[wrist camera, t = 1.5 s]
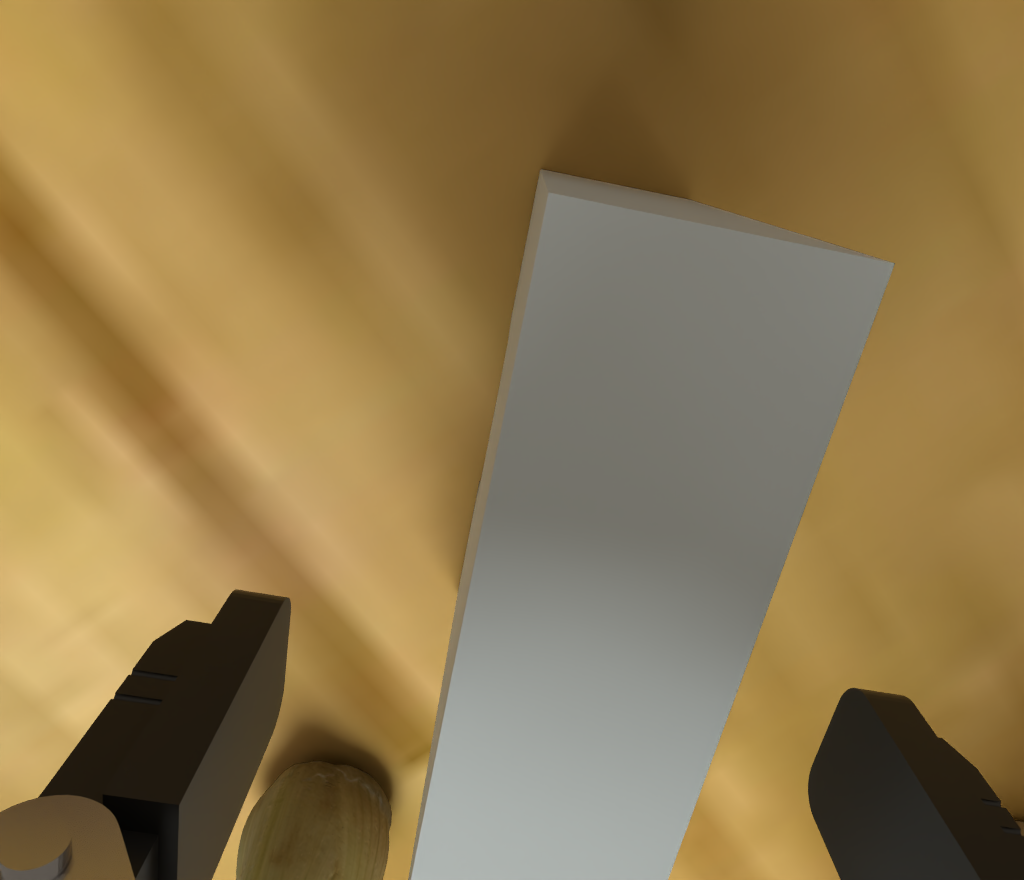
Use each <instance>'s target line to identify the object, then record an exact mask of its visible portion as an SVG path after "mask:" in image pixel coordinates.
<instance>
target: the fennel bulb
mask: <svg viewBox="0 0 1024 880" xmlns="http://www.w3.org/2000/svg"><path fill="white" fill-rule="evenodd" d="M391 817H392V813H391V807H390V804H389V801H388V799H387V797H386V795H385V793H384V791H383V789H382V788H381V786H380V785H379V784H378V783H377V782H376V781H375V780H374V779H373V777H371V776H370V775H369V774H368V773H365V772H363V771H361V770H359V769H357V768H355V767H352V766H350V765H333V764H330V763H328V762H323V761H312V762H307V763H301V764H295V765H293V766H291V767H290V768H288V769H286V770H285V771H284V772H283V773H282V774H281V775H280V776H279V777H278V779H277V780H276V781H275V782H274V783H273V785H271V786H270V788H269V789H268V790H267V791H266V792H265V793H264V794H263V796H262V797H261V798H260V799H259V800H258V802H257V803H256V805H255V806H254V807H253V809H252V811H251V813H250V815H249V817H248V819H247V821H246V824H245V826H244V829H243V832H242V835H241V840H240V844H239V850H238V857H237V869H236V877H237V878H236V880H383V876H384V872H385V868H386V864H387V859H388V851H389V829H390V826H391Z"/></svg>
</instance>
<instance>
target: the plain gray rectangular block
mask: <svg viewBox="0 0 1024 880" xmlns="http://www.w3.org/2000/svg"><path fill="white" fill-rule="evenodd" d="M894 264H895V263H892V262H889V261H886V260H882V259H879V258H876V257H873V256H870V255H866V254H863V253H860V252H857V251H853V250H850V249H847V248H844V247H841V246H837V245H834V244H831V243H828V242H825V241H821V240H818V239H815V238H812V237H808V236H805V235H802V234H799V233H796V232H792V231H789V230H786V229H783V228H780V227H776V226H773V225H770V224H767V223H763V222H760V221H757V220H754V219H751V218H747V217H744V216H741V215H738V214H735V213H731V212H728V211H725V210H722V209H719V208H715V207H712V206H709V205H706V204H702V203H699V202H696V201H693V200H689V199H684V198H679V197H674V196H670V195H665V194H660V193H655V192H650V191H645V190H641V189H636V188H631V187H626V186H621V185H616V184H611V183H607V182H602V181H597V180H592V179H587V178H582V177H577V176H573V175H568V174H563V173H558V172H553V171H548V170H543V169H540V173H539V178H538V183H537V188H536V194H535V199H534V204H533V209H532V214H531V219H530V224H529V230H528V235H527V240H526V245H525V250H524V255H523V260H522V266H521V271H520V276H519V281H518V286H517V291H516V296H515V301H514V307H513V312H512V317H511V323H510V331H509V338H508V344H507V349H506V355H505V360H504V365H503V370H502V375H501V380H500V385H499V390H498V395H497V401H496V406H495V411H494V416H493V421H492V426H491V431H490V436H489V442H488V447H487V452H486V457H485V462H484V467H483V472H482V477H481V481H479V486H478V492H477V497H476V502H475V507H474V512H473V517H472V522H471V528H470V533H469V538H468V543H467V548H466V553H465V558H464V564H463V569H462V574H461V579H460V584H459V589H458V594H457V600H456V606H455V612H454V618H453V623H452V629H451V635H450V641H449V647H448V652H447V658H446V664H445V670H444V676H443V681H442V687H441V693H440V699H439V705H438V710H437V716H436V722H435V728H434V733H433V739H432V745H431V751H430V757H429V762H428V768H427V774H426V780H425V786H424V791H423V797H422V803H421V809H420V815H419V820H418V826H417V832H416V838H415V844H414V849H413V855H412V861H411V867H410V872H409V878H408V880H668V878H669V875H670V873H671V870H672V867H673V864H674V862H675V859H676V856H677V854H678V851H679V848H680V845H681V843H682V840H683V837H684V835H685V832H686V829H687V826H688V824H689V821H690V818H691V816H692V813H693V810H694V807H695V805H696V802H697V799H698V796H699V794H700V791H701V788H702V786H703V783H704V780H705V777H706V775H707V772H708V769H709V767H710V764H711V761H712V758H713V756H714V753H715V750H716V748H717V745H718V742H719V739H720V737H721V734H722V731H723V729H724V726H725V723H726V720H727V718H728V715H729V712H730V710H731V707H732V704H733V701H734V699H735V696H736V693H737V691H738V688H739V685H740V682H741V680H742V677H743V674H744V672H745V669H746V666H747V663H748V661H749V658H750V655H751V653H752V650H753V647H754V644H755V642H756V639H757V636H758V634H759V631H760V628H761V625H762V623H763V620H764V617H765V615H766V612H767V609H768V606H769V604H770V601H771V598H772V596H773V593H774V590H775V587H776V585H777V582H778V579H779V577H780V574H781V571H782V568H783V566H784V563H785V560H786V558H787V555H788V552H789V549H790V547H791V544H792V541H793V539H794V536H795V533H796V530H797V528H798V525H799V522H800V520H801V517H802V514H803V511H804V509H805V506H806V503H807V501H808V498H809V495H810V492H811V490H812V487H813V484H814V482H815V479H816V476H817V473H818V471H819V468H820V465H821V463H822V460H823V457H824V454H825V452H826V449H827V446H828V444H829V441H830V438H831V435H832V433H833V430H834V427H835V425H836V422H837V419H838V416H839V414H840V411H841V408H842V406H843V403H844V400H845V397H846V395H847V392H848V389H849V386H850V384H851V381H852V378H853V376H854V373H855V370H856V367H857V365H858V362H859V359H860V357H861V354H862V351H863V348H864V346H865V343H866V340H867V338H868V335H869V332H870V329H871V327H872V324H873V321H874V319H875V316H876V313H877V310H878V308H879V305H880V302H881V300H882V297H883V294H884V291H885V289H886V286H887V283H888V281H889V278H890V275H891V272H892V270H893V267H894Z"/></svg>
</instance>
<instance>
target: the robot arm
mask: <svg viewBox="0 0 1024 880" xmlns="http://www.w3.org/2000/svg"><path fill="white" fill-rule="evenodd" d="M290 613H291V602H290V599H289V598H287V597H281V596H274V595H268V594H262V593H255V592H249V591H243V590H234V591H233V592H232V593H231V594H230V596H229V597H228V599H227V600H226V602H225V604H224V605H223V607H222V608H221V610H220V611H219V613H218V614H217V616H216V618H215V619H214V621H213V622H212V624H209V623H202V622H196V621H189V620H186V621H184V622H183V623H181V624H179V625H178V626H176V627H175V628H173V629H172V630H170V631H169V632H167V633H165V634H164V635H162V636H161V637H159V638H158V639H156V640H155V641H153V642H152V644H151V645H150V646H149V648H148V649H147V651H146V652H145V653H144V655H143V656H142V657H141V659H140V660H139V661H138V663H137V664H136V666H135V667H134V668H133V671H132V674H131V675H128V676H127V678H126V679H125V681H124V682H123V683H122V685H121V686H120V687H119V689H118V690H117V691H116V693H115V697H114V699H111V700H110V701H109V702H108V704H107V705H106V706H105V708H104V709H103V710H102V712H101V713H100V715H99V716H98V717H97V719H96V720H95V721H94V723H93V724H92V725H91V727H90V728H89V730H88V731H87V732H86V734H85V735H84V736H83V738H82V739H81V740H80V742H79V743H78V745H77V746H76V747H75V749H74V750H73V751H72V753H71V754H70V755H69V757H68V758H67V759H66V761H65V762H64V764H63V765H62V766H61V768H60V769H59V770H58V772H57V773H56V774H55V776H54V777H53V779H52V780H51V781H50V783H49V784H48V785H47V787H46V788H45V789H44V791H43V792H42V793H41V794H40V796H39V797H38V798H36V799H32V800H28V801H25V802H22V803H20V804H17V805H14V806H12V807H10V808H8V809H6V810H4V811H2V812H0V880H212V878H213V875H214V873H215V870H216V868H217V866H218V863H219V861H220V858H221V856H222V854H223V851H224V849H225V846H226V844H227V842H228V839H229V837H230V835H231V832H232V830H233V827H234V825H235V823H236V820H237V818H238V815H239V813H240V811H241V808H242V806H243V803H244V801H245V799H246V796H247V794H248V791H249V789H250V787H251V784H252V782H253V779H254V777H255V775H256V772H257V770H258V767H259V765H260V763H261V760H262V758H263V755H264V753H265V751H266V748H267V746H268V744H269V741H270V739H271V736H272V734H273V731H274V728H275V725H276V722H277V719H278V715H279V711H280V707H281V702H282V697H283V691H284V682H285V671H286V659H287V648H288V636H289V625H290ZM808 795H809V803H810V808H811V812H812V814H813V817H814V820H815V822H816V824H817V826H818V829H819V831H820V833H821V836H822V838H823V840H824V842H825V845H826V847H827V849H828V852H829V854H830V856H831V858H832V861H833V863H834V865H835V868H836V870H837V872H838V874H839V877H840V879H841V880H1024V822H1021V821H1015V820H1014V819H1013V817H1012V816H1011V815H1010V813H1009V812H1008V811H1007V809H1006V808H1001V805H1000V803H1001V801H1000V800H999V798H998V797H997V796H996V794H995V793H994V791H993V790H992V789H991V787H990V786H989V785H988V783H987V782H986V781H985V779H984V778H983V776H982V775H981V774H980V772H979V771H978V770H977V768H976V767H974V766H973V765H972V764H971V763H970V762H969V761H968V760H966V759H965V758H964V757H963V756H962V755H961V754H960V753H958V752H957V751H956V750H955V749H954V748H953V747H952V746H950V745H949V744H948V743H947V742H946V741H945V740H944V739H942V738H938V737H937V736H936V734H935V733H934V732H933V730H932V729H931V727H930V726H929V725H928V723H927V722H926V720H925V719H924V717H923V716H922V715H921V713H920V712H919V710H918V709H917V708H916V706H915V705H914V703H913V702H912V701H911V700H910V699H909V698H907V697H905V696H901V695H895V694H889V693H882V692H876V691H870V690H863V689H857V688H850V689H848V690H847V691H846V692H844V694H843V695H842V696H841V698H840V700H839V703H838V705H837V707H836V710H835V712H834V715H833V717H832V719H831V722H830V724H829V726H828V729H827V731H826V734H825V736H824V738H823V741H822V743H821V746H820V748H819V750H818V753H817V755H816V757H815V760H814V762H813V765H812V767H811V771H810V775H809V783H808Z"/></svg>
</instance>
